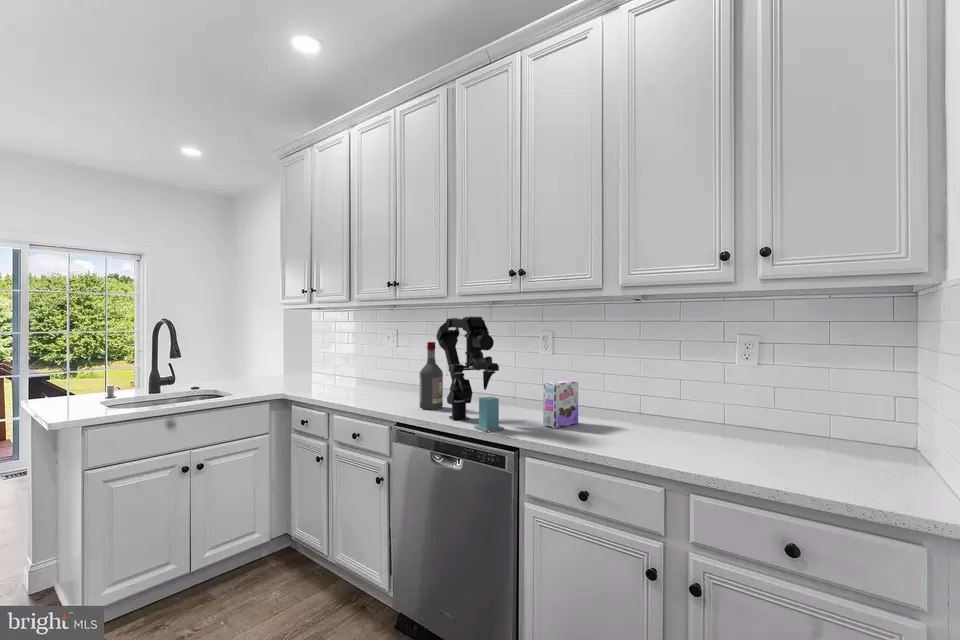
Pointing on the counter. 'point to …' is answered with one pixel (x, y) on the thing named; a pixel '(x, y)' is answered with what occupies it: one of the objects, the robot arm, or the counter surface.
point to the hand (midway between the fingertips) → (474, 390)
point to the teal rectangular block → (489, 412)
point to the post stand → (489, 429)
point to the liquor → (431, 382)
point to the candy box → (560, 404)
